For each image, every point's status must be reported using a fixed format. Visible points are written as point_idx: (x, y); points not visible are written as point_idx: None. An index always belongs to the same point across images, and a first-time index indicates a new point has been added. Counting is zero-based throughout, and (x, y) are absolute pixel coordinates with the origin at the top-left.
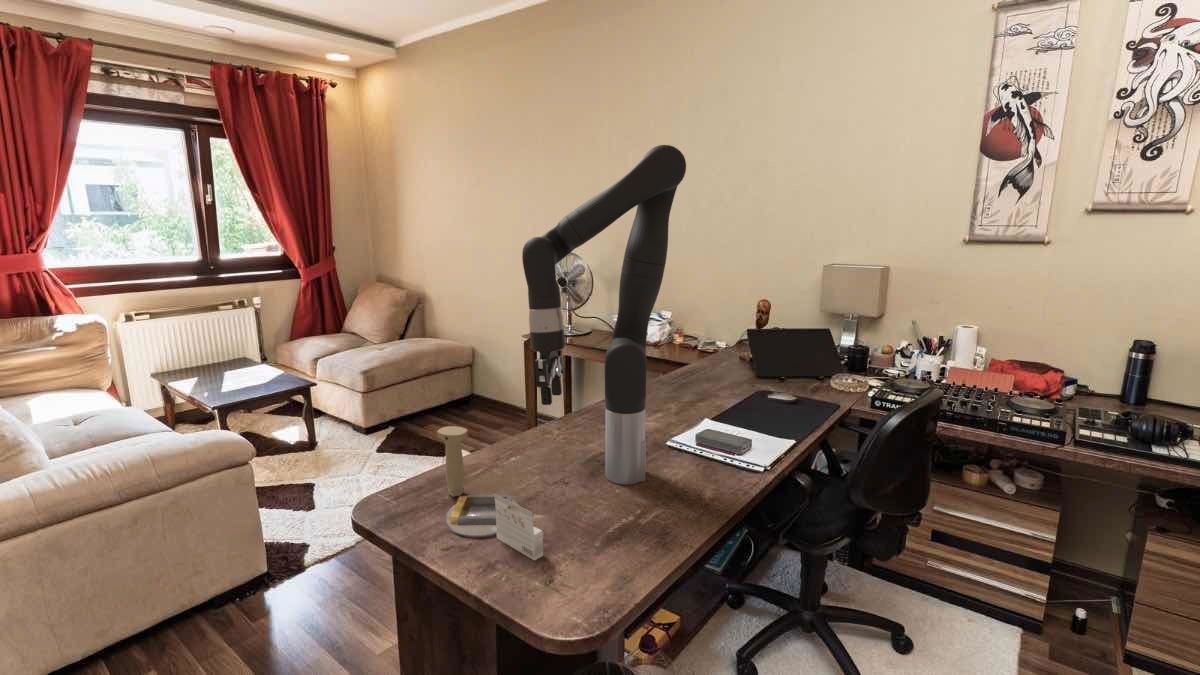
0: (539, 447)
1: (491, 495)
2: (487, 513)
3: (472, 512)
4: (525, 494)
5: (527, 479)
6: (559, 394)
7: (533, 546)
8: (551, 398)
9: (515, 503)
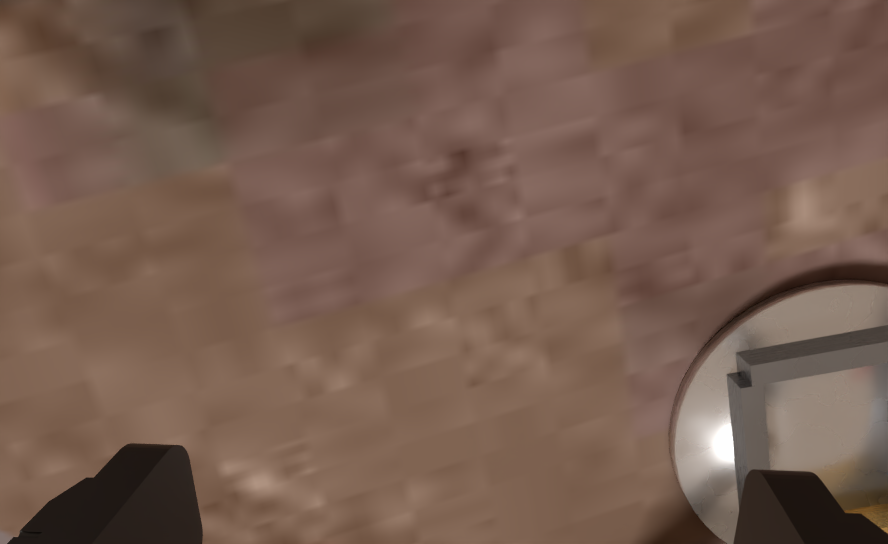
0: (93, 402)
1: (752, 453)
2: (839, 420)
3: (832, 479)
4: (608, 322)
5: (459, 356)
6: (181, 463)
7: None
8: (825, 528)
9: (747, 334)
